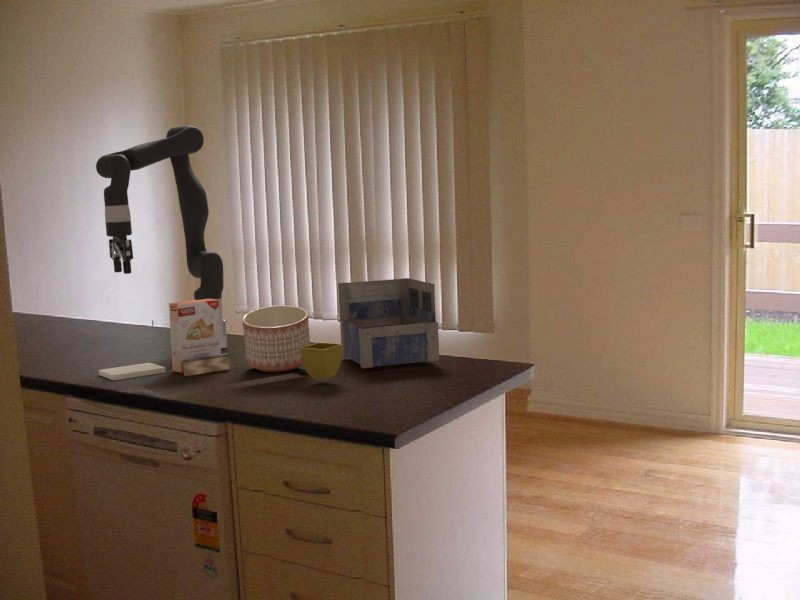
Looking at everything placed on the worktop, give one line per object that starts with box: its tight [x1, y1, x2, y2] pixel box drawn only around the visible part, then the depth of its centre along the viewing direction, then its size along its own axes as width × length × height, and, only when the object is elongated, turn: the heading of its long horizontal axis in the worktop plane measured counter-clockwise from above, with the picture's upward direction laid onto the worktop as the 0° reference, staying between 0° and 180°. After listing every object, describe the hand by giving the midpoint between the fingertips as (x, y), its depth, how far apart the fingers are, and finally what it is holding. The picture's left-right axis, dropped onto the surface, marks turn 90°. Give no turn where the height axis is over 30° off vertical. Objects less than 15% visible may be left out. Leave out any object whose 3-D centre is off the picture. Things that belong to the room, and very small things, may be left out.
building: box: [337, 277, 440, 369], centre depth 291 cm, size 23×24×23 cm
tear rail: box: [183, 353, 231, 377], centre depth 280 cm, size 14×2×5 cm, turn 127°
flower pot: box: [300, 342, 342, 380], centre depth 265 cm, size 9×9×9 cm
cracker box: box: [168, 299, 222, 374], centre depth 284 cm, size 14×6×21 cm, turn 132°
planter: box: [241, 304, 311, 373], centre depth 280 cm, size 19×19×15 cm
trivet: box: [98, 362, 167, 381], centre depth 282 cm, size 16×12×2 cm
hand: (122, 272), depth 292 cm, fingers open, 8 cm apart
